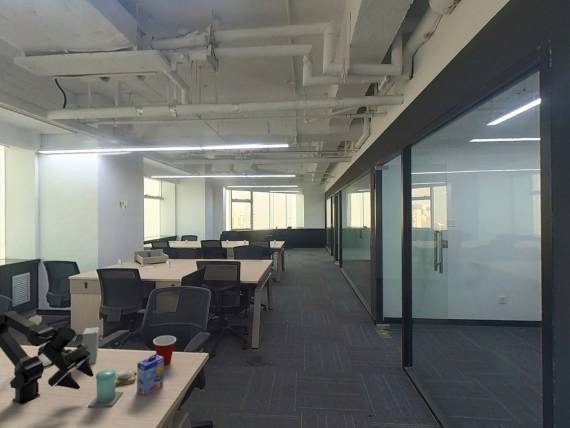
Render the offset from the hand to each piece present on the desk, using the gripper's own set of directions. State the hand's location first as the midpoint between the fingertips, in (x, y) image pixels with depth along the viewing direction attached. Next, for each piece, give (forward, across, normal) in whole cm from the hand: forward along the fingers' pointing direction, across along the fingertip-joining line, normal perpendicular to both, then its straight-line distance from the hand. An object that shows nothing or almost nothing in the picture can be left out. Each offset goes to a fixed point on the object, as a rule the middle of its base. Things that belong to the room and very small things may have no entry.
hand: (86, 382), depth 123 cm
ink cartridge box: (+21, +7, -11) cm, 25 cm away
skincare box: (-7, +35, +18) cm, 40 cm away
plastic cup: (+20, +30, -10) cm, 38 cm away
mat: (+11, 0, 0) cm, 11 cm away
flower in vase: (-22, +32, +34) cm, 52 cm away
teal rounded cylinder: (+10, 0, -1) cm, 10 cm away
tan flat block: (+11, +15, -1) cm, 19 cm away
